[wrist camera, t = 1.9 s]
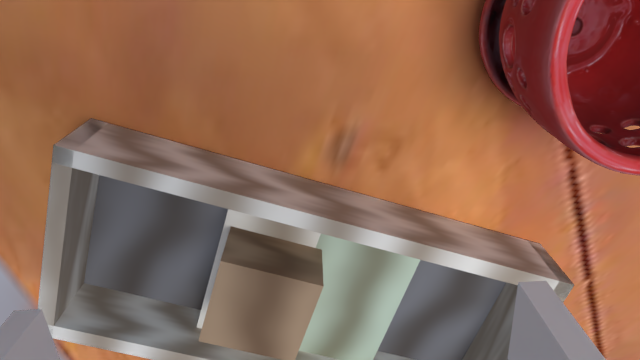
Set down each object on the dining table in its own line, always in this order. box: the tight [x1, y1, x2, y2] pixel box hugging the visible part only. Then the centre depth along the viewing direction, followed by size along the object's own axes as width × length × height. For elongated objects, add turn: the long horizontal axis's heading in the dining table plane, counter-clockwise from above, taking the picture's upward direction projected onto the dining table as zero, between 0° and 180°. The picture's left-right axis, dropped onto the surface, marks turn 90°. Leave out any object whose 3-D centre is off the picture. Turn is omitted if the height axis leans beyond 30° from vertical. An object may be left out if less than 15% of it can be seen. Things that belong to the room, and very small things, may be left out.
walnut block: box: [199, 226, 324, 360], centre depth 35 cm, size 7×7×4 cm
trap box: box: [38, 118, 574, 360], centre depth 37 cm, size 36×15×6 cm, turn 72°
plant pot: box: [479, 0, 640, 175], centre depth 26 cm, size 13×13×12 cm
